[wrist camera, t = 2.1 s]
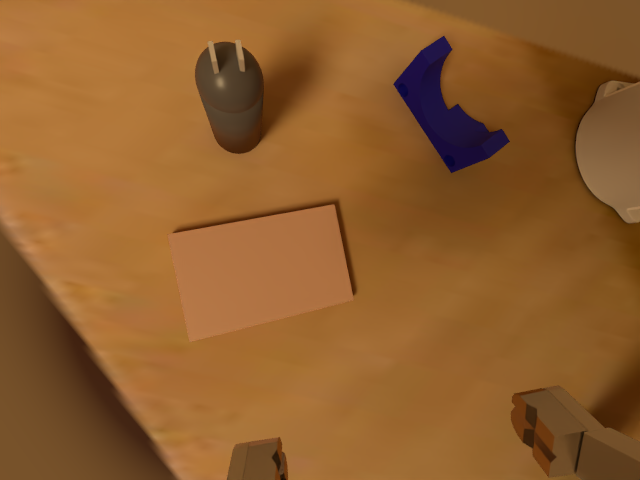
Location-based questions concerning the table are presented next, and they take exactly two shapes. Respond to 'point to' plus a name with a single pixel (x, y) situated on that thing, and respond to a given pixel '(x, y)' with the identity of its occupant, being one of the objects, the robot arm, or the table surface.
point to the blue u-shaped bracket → (445, 112)
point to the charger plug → (231, 94)
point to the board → (259, 270)
